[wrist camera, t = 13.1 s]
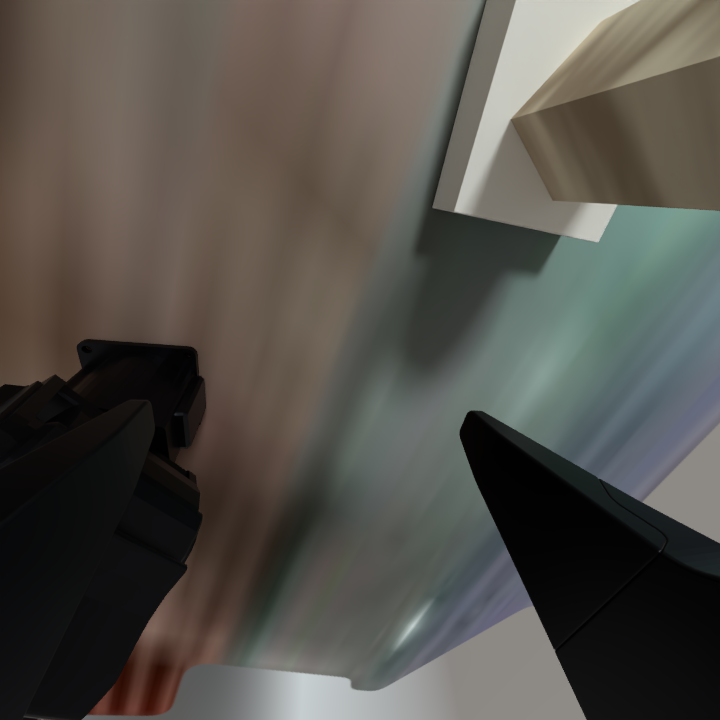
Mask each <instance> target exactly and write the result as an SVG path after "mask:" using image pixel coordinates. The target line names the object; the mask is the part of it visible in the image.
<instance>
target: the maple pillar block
mask: <svg viewBox="0 0 720 720" xmlns="http://www.w3.org/2000/svg"><path fill="white" fill-rule="evenodd" d="M511 121H512V123H513V125H514V127H515V129H516V131H517V133H518V135H519V137H520V139H521V141H522V143H523V144H524V146H525V148H526V150H527V152H528V154H529V156H530V158H531V160H532V162H533V164H534V166H535V167H536V169H537V171H538V173H539V175H540V177H541V179H542V181H543V183H544V185H545V187H546V189H547V191H548V192H549V194H550V196H551V198H552V200H553V201H566V202H583V203H600V204H616V205H633V206H650V207H667V208H683V209H700V210H717V211H720V0H640V1H638V2H636V3H635V4H633V5H631V6H629V7H627V8H625V9H623V10H621V11H619V12H618V13H616V14H614V15H612V16H610V17H608V18H606V19H604V20H603V21H601V22H600V23H599V24H598V25H597V26H596V27H595V28H594V30H593V31H592V32H591V33H590V34H589V35H588V36H587V37H586V38H585V39H584V40H583V41H582V43H581V44H580V45H579V46H578V47H577V48H576V49H575V50H574V51H573V52H572V53H571V54H570V55H569V57H568V58H567V59H566V60H565V61H564V62H563V63H562V64H561V65H560V66H559V67H558V68H557V70H556V71H555V72H554V73H553V74H552V75H551V76H550V77H549V78H548V79H547V80H546V81H545V83H544V84H543V85H542V86H541V87H540V88H539V89H538V90H537V91H536V92H535V93H534V94H533V95H532V97H531V98H530V99H529V100H528V101H527V102H526V103H525V104H524V105H523V106H522V107H521V108H520V110H519V111H518V112H517V113H516V114H515V115H514V116H513V117H512V118H511Z"/></svg>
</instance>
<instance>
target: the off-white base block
mask: <svg viewBox="0 0 720 720" xmlns="http://www.w3.org/2000/svg"><path fill="white" fill-rule="evenodd" d="M638 1H640V0H487V1H486V5H485V9H484V12H483V16H482V20H481V24H480V28H479V31H478V35H477V39H476V43H475V47H474V50H473V54H472V58H471V62H470V66H469V69H468V73H467V77H466V81H465V85H464V89H463V92H462V96H461V100H460V104H459V108H458V111H457V115H456V119H455V123H454V127H453V130H452V134H451V138H450V142H449V146H448V150H447V153H446V157H445V161H444V165H443V169H442V172H441V176H440V180H439V184H438V188H437V191H436V195H435V199H434V203H433V207H432V208H435V209H439V210H444V211H449V212H453V213H458V214H463V215H467V216H472V217H477V218H482V219H486V220H491V221H496V222H500V223H505V224H510V225H514V226H519V227H524V228H528V229H533V230H538V231H543V232H547V233H552V234H557V235H561V236H567V237H572V238H577V239H583V240H588V241H593V242H599V240H600V238H601V236H602V234H603V232H604V230H605V228H606V226H607V224H608V222H609V220H610V218H611V216H612V214H613V213H614V211H615V209H616V207H617V205H616V204H600V203H583V202H566V201H553V200H552V198H551V196H550V194H549V192H548V191H547V189H546V187H545V185H544V183H543V181H542V179H541V177H540V175H539V173H538V171H537V169H536V167H535V166H534V164H533V162H532V160H531V158H530V156H529V154H528V152H527V150H526V148H525V146H524V144H523V143H522V141H521V139H520V137H519V135H518V133H517V131H516V129H515V127H514V125H513V123H512V121H511V118H512V117H513V116H514V115H515V114H516V113H517V112H518V111H519V110H520V108H521V107H522V106H523V105H524V104H525V103H526V102H527V101H528V100H529V99H530V98H531V97H532V95H533V94H534V93H535V92H536V91H537V90H538V89H539V88H540V87H541V86H542V85H543V84H544V83H545V81H546V80H547V79H548V78H549V77H550V76H551V75H552V74H553V73H554V72H555V71H556V70H557V68H558V67H559V66H560V65H561V64H562V63H563V62H564V61H565V60H566V59H567V58H568V57H569V55H570V54H571V53H572V52H573V51H574V50H575V49H576V48H577V47H578V46H579V45H580V44H581V43H582V41H583V40H584V39H585V38H586V37H587V36H588V35H589V34H590V33H591V32H592V31H593V30H594V28H595V27H596V26H597V25H598V24H599V23H600V22H601V21H603V20H604V19H606V18H608V17H610V16H612V15H614V14H616V13H618V12H619V11H621V10H623V9H625V8H627V7H629V6H631V5H633V4H635V3H636V2H638Z"/></svg>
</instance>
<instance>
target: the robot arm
mask: <svg viewBox="0 0 720 720" xmlns="http://www.w3.org/2000/svg"><path fill="white" fill-rule="evenodd" d="M86 346H89V347H90V348H91V349H92V350H88V349H87V348H86ZM77 352H78V355H79V359H80V363H81V366H82V369H81V370H80V371H79V372H78V373H76V374H75V375H74V376H73V377H72V378H71V379H70V380H68V381H67V382H65V381H64V380H62V379H61V378H60V377H58V376H57V375H56V374H55V375H53V376H51V377H50V378H48V379H47V380H45V381H43V382H42V383H41V382H39V381H36V382H35V383H33V384H31V385H27V386H17V385H8V384H5V385H3V386H1V387H0V720H41V719H44V720H82V719H83V718H84V717H85V716H86V715H87V714H88V713H89V712H90V711H91V710H92V709H93V707H94V706H95V705H96V704H97V703H98V702H99V701H100V700H101V699H102V698H103V696H104V695H105V694H106V693H107V692H108V691H109V690H110V689H111V688H112V686H113V685H114V684H115V682H116V681H117V679H118V677H119V676H120V674H121V672H122V670H123V668H124V666H125V664H126V662H127V660H128V658H129V656H130V655H131V653H132V651H133V649H134V647H135V645H136V643H137V641H138V639H139V637H140V636H141V634H142V632H143V630H144V629H145V627H146V625H147V623H148V621H149V620H150V618H151V617H152V615H153V614H154V612H155V611H156V609H157V608H158V606H159V605H160V603H161V602H162V600H163V599H164V598H165V596H166V595H167V593H168V592H169V591H170V590H171V589H172V588H173V586H174V585H175V584H176V583H177V582H178V580H179V579H180V578H181V577H182V576H183V575H184V573H185V572H186V570H187V565H186V564H184V563H185V561H186V559H187V558H188V556H189V554H190V553H191V551H192V548H193V546H194V544H195V541H196V538H197V534H198V531H199V528H200V525H201V523H202V513H200V512H199V511H198V509H199V499H200V492H199V490H198V487H197V485H196V475H194V474H193V473H192V472H190V471H185V470H184V469H182V468H181V467H180V466H178V465H177V464H175V463H174V462H175V460H176V457H177V455H178V453H179V450H180V449H187V448H188V447H189V446H191V444H192V442H193V439H194V436H195V434H196V431H197V429H198V426H199V425H200V423H201V420H202V416H203V413H204V411H205V408H206V401H205V384H204V379H203V378H202V377H201V376H199V369H198V355H197V351H196V350H195V349H194V348H192V347H189V346H175V345H161V344H147V343H133V342H119V341H106V340H92V339H86V340H83V341H82V342H80V343H79V344H78V345H77ZM185 353H190V354H191V356H190V357H189V356H187V355H185ZM460 439H461V442H462V445H463V447H464V450H465V453H466V456H467V459H468V462H469V464H470V467H471V470H472V473H473V475H474V478H475V481H476V483H477V485H478V488H479V490H480V492H481V494H482V496H483V498H484V500H485V503H486V505H487V507H488V509H489V511H490V513H491V515H492V518H493V520H494V522H495V524H496V526H497V528H498V530H499V532H500V535H501V537H502V539H503V541H504V543H505V545H506V547H507V550H508V552H509V554H510V556H511V558H512V560H513V562H514V565H515V567H516V569H517V571H518V573H519V575H520V577H521V580H522V582H523V584H524V586H525V588H526V590H527V592H528V595H529V597H530V599H531V601H532V603H533V605H534V607H535V610H536V612H537V614H538V616H539V618H540V620H541V622H542V625H543V627H544V629H545V631H546V633H547V635H548V637H549V640H550V642H551V644H552V646H553V648H554V649H555V653H556V655H557V657H558V659H559V661H560V663H561V666H562V668H563V670H564V672H565V674H566V677H567V679H568V681H569V683H570V685H571V687H572V689H573V691H574V694H575V696H576V698H577V700H578V702H579V704H580V707H581V708H582V711H583V713H584V715H585V717H586V719H587V720H720V543H718V542H716V541H714V540H712V539H710V538H708V537H706V536H705V535H703V534H701V533H699V532H697V531H695V530H693V529H691V528H689V527H687V526H685V525H683V524H682V523H680V522H678V521H676V520H674V519H672V518H670V517H668V516H666V515H664V514H663V513H661V512H659V511H657V510H655V509H653V508H651V507H650V506H647V505H646V504H644V503H642V502H640V501H638V500H637V499H635V498H633V497H631V496H629V495H628V494H626V493H624V492H622V491H621V490H619V489H617V488H615V487H613V486H612V485H610V484H608V483H606V482H605V481H603V480H601V479H598V478H597V477H596V476H594V475H592V474H591V473H589V472H587V471H585V470H584V469H582V468H580V467H579V466H577V465H575V464H573V463H572V462H570V461H568V460H566V459H565V458H563V457H561V456H559V455H558V454H556V453H554V452H552V451H551V450H549V449H547V448H546V447H544V446H542V445H540V444H539V443H537V442H535V441H533V440H532V439H530V438H528V437H526V436H525V435H523V434H521V433H519V432H518V431H516V430H514V429H512V428H511V427H509V426H507V425H506V424H504V423H502V422H500V421H499V420H497V419H495V418H493V417H492V416H490V415H488V414H486V413H485V412H483V411H469V412H468V413H467V415H466V417H465V419H464V422H463V424H462V426H461V429H460Z"/></svg>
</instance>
